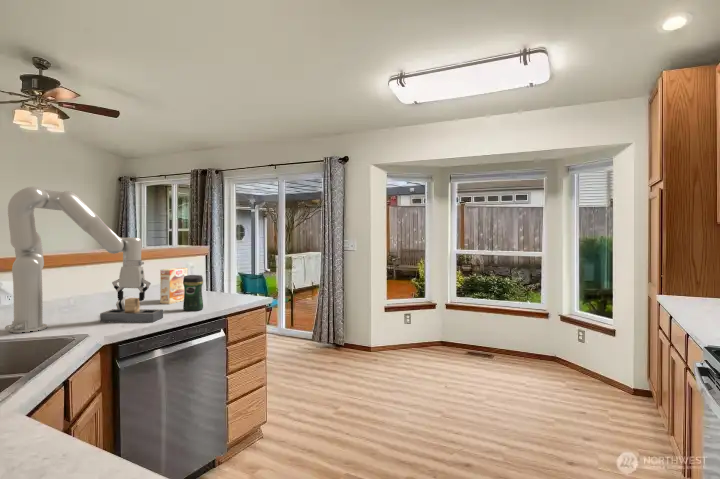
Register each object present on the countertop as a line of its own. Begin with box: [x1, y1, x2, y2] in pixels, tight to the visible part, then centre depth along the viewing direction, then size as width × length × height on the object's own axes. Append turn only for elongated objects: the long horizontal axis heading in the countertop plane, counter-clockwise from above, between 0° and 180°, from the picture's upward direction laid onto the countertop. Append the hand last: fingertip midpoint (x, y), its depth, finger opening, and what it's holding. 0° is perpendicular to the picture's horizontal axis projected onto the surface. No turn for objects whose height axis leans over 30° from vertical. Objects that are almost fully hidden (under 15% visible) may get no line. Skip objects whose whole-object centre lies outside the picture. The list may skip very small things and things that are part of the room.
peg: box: [125, 297, 141, 313], centre depth 197 cm, size 4×4×10 cm
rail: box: [99, 308, 164, 323], centre depth 197 cm, size 10×24×4 cm, turn 91°
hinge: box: [115, 295, 143, 309], centre depth 211 cm, size 17×5×10 cm, turn 9°
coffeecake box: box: [159, 267, 189, 305], centre depth 246 cm, size 15×7×20 cm, turn 162°
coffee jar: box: [182, 274, 204, 312], centre depth 222 cm, size 10×8×19 cm
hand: (131, 300), depth 197 cm, fingers open, 9 cm apart
